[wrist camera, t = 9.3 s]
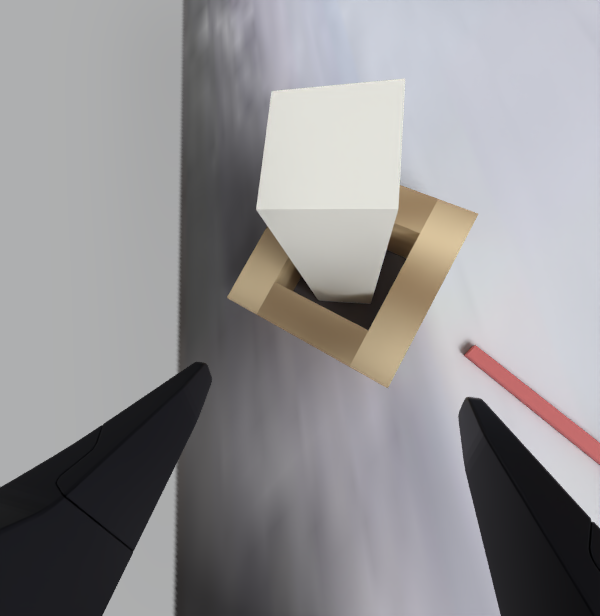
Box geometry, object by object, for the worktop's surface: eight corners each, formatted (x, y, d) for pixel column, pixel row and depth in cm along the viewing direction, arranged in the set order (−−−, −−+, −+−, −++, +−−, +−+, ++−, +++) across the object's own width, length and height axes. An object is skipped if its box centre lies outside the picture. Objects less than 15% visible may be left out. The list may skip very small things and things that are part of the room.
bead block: (380, 380, 18) (387, 388, 14) (251, 308, 20) (226, 297, 16) (452, 243, 18) (478, 213, 14) (317, 189, 21) (309, 151, 17)
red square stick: (726, 545, 13) (737, 551, 13) (714, 557, 14) (725, 563, 13) (472, 345, 17) (475, 345, 17) (463, 355, 17) (466, 355, 17)
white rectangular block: (370, 303, 19) (398, 209, 7) (318, 300, 19) (256, 209, 7) (374, 253, 19) (405, 78, 7) (323, 251, 20) (271, 90, 8)
